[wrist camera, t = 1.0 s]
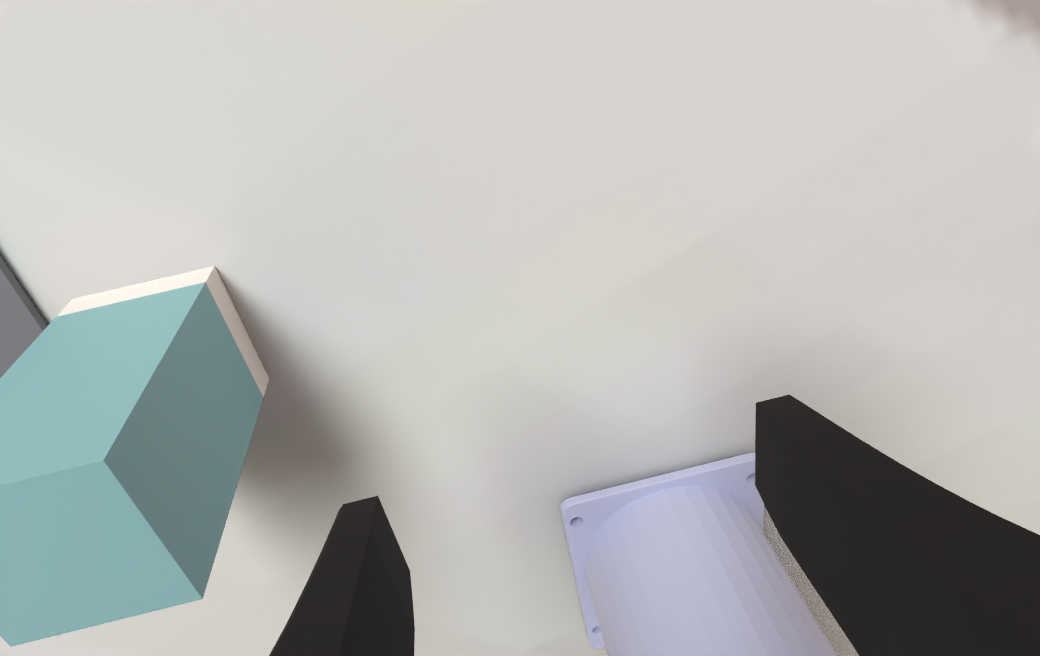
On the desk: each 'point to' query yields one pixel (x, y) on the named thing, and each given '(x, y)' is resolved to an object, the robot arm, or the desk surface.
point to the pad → (16, 319)
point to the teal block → (122, 454)
